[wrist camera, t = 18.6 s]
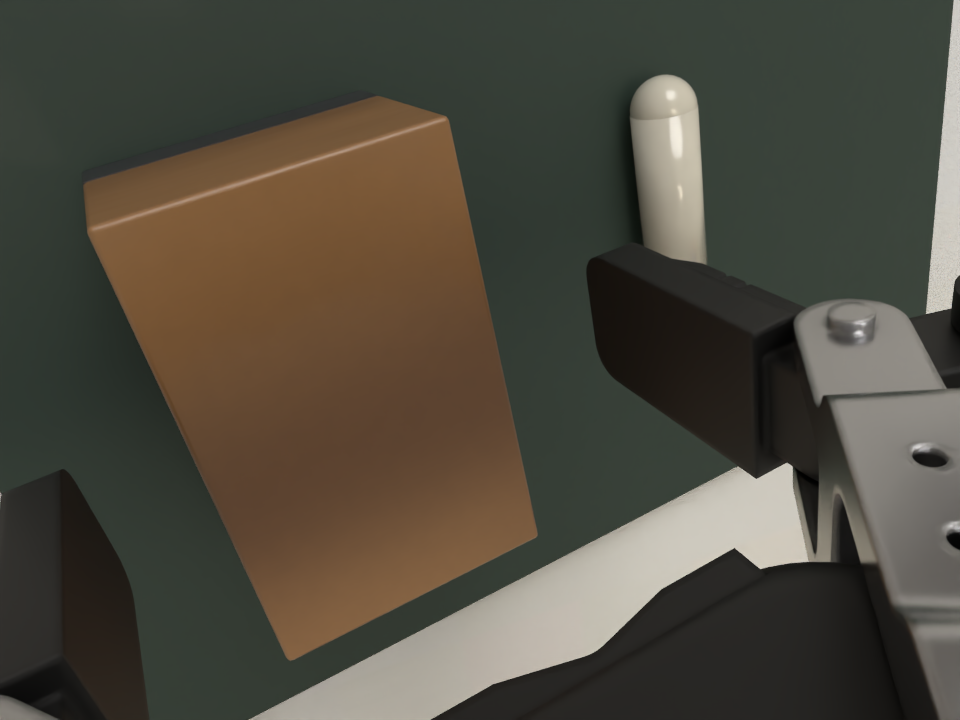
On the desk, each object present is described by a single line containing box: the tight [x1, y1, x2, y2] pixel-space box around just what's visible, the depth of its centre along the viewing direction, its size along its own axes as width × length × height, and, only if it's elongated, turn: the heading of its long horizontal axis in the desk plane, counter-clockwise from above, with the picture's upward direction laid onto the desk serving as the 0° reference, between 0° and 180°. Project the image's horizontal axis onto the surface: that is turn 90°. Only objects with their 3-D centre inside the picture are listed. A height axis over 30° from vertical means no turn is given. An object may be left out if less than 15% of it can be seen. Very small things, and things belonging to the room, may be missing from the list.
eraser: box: [82, 90, 538, 661], centre depth 14 cm, size 8×5×4 cm, turn 13°
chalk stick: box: [630, 74, 708, 266], centre depth 18 cm, size 5×1×1 cm
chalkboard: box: [0, 0, 953, 720], centre depth 18 cm, size 16×24×1 cm, turn 103°
